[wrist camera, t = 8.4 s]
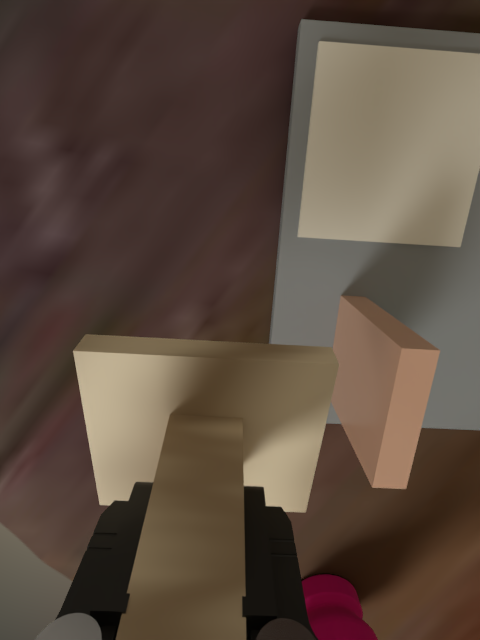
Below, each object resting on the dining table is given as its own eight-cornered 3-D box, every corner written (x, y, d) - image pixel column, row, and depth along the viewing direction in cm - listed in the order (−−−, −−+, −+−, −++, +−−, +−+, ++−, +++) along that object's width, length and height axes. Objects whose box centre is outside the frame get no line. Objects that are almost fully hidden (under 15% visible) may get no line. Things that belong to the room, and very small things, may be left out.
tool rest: (502, 57, 19) (506, 55, 19) (457, 246, 23) (460, 247, 22) (318, 43, 19) (319, 41, 19) (297, 236, 22) (298, 237, 22)
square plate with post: (331, 347, 12) (752, 1307, 2) (301, 490, 15) (416, 1137, 5) (85, 334, 12) (-693, 1370, 2) (107, 482, 15) (-140, 1151, 5)
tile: (367, 296, 23) (443, 350, 15) (350, 393, 26) (409, 489, 17) (340, 295, 23) (401, 348, 15) (326, 392, 26) (372, 487, 17)
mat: (685, 59, 20) (707, 51, 20) (549, 426, 28) (560, 434, 27) (298, 28, 20) (301, 19, 19) (262, 412, 27) (263, 420, 26)
